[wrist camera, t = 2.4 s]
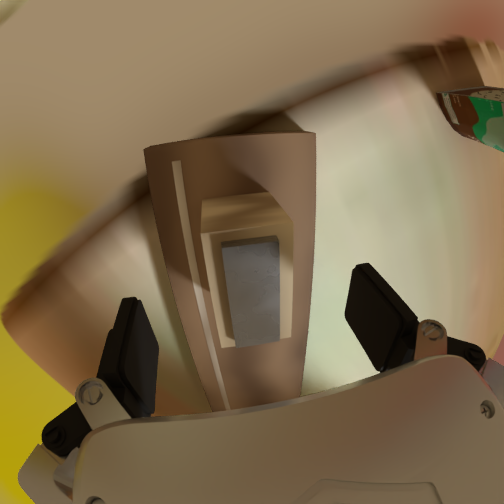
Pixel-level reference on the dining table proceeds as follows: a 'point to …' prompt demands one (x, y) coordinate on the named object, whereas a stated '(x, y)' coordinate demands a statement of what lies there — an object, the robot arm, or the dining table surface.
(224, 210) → the beige rectangular block
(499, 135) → the food container
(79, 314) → the dining table surface
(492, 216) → the dining table surface
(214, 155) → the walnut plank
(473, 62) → the dining table surface
